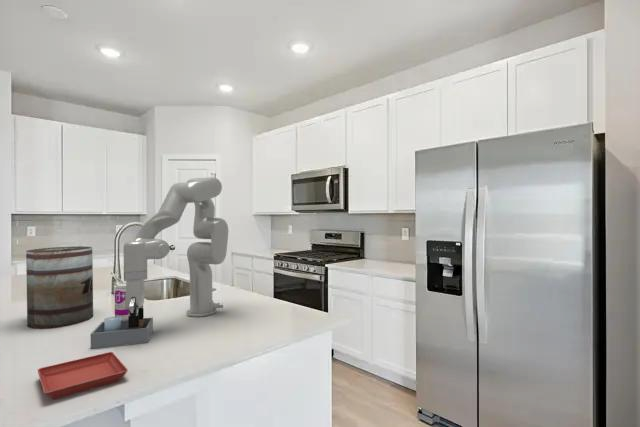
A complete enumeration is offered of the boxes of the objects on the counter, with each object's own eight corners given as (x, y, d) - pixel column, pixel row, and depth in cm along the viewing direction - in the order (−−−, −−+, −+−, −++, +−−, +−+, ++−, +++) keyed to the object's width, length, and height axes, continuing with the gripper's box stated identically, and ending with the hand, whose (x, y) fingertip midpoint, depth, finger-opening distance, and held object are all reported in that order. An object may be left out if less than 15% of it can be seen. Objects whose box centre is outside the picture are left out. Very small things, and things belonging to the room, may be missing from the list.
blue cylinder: (119, 335, 129) (120, 316, 130) (121, 339, 125) (121, 319, 126) (103, 337, 127) (104, 318, 127) (104, 341, 122) (104, 321, 123)
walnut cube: (130, 334, 130) (130, 320, 130) (145, 333, 131) (145, 319, 131) (127, 339, 125) (127, 325, 125) (142, 337, 127) (142, 323, 127)
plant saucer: (112, 361, 109) (112, 350, 109) (129, 381, 96) (128, 369, 96) (37, 380, 97) (36, 368, 97) (44, 407, 84) (44, 393, 84)
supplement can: (127, 323, 145) (127, 286, 145) (110, 322, 146) (109, 286, 146) (141, 317, 153) (141, 282, 153) (124, 316, 154) (124, 282, 154)
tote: (153, 330, 136) (152, 317, 136) (147, 342, 123) (147, 328, 123) (101, 335, 131) (101, 322, 131) (90, 348, 118) (90, 333, 118)
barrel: (105, 314, 158) (104, 246, 158) (57, 331, 136) (56, 252, 136) (65, 311, 164) (64, 246, 164) (12, 326, 142) (11, 251, 142)
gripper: (128, 272, 135) (129, 317, 135) (118, 280, 119) (119, 331, 119) (150, 271, 137) (151, 315, 138) (143, 279, 121) (144, 329, 121)
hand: (136, 323), depth 128 cm, fingers open, 9 cm apart
